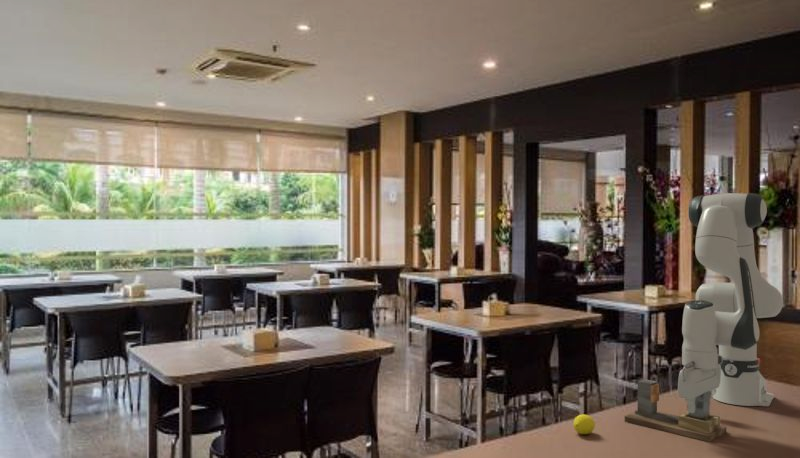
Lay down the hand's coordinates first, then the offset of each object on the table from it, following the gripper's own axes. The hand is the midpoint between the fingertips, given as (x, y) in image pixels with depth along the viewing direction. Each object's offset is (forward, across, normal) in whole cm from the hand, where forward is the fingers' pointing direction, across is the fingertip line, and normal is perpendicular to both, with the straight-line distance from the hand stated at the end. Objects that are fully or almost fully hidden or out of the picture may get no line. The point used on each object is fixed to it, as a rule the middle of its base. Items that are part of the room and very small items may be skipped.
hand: (699, 408), depth 173 cm
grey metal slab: (+4, 0, 0) cm, 4 cm away
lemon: (+7, -25, +21) cm, 33 cm away
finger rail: (+7, 0, +7) cm, 10 cm away
